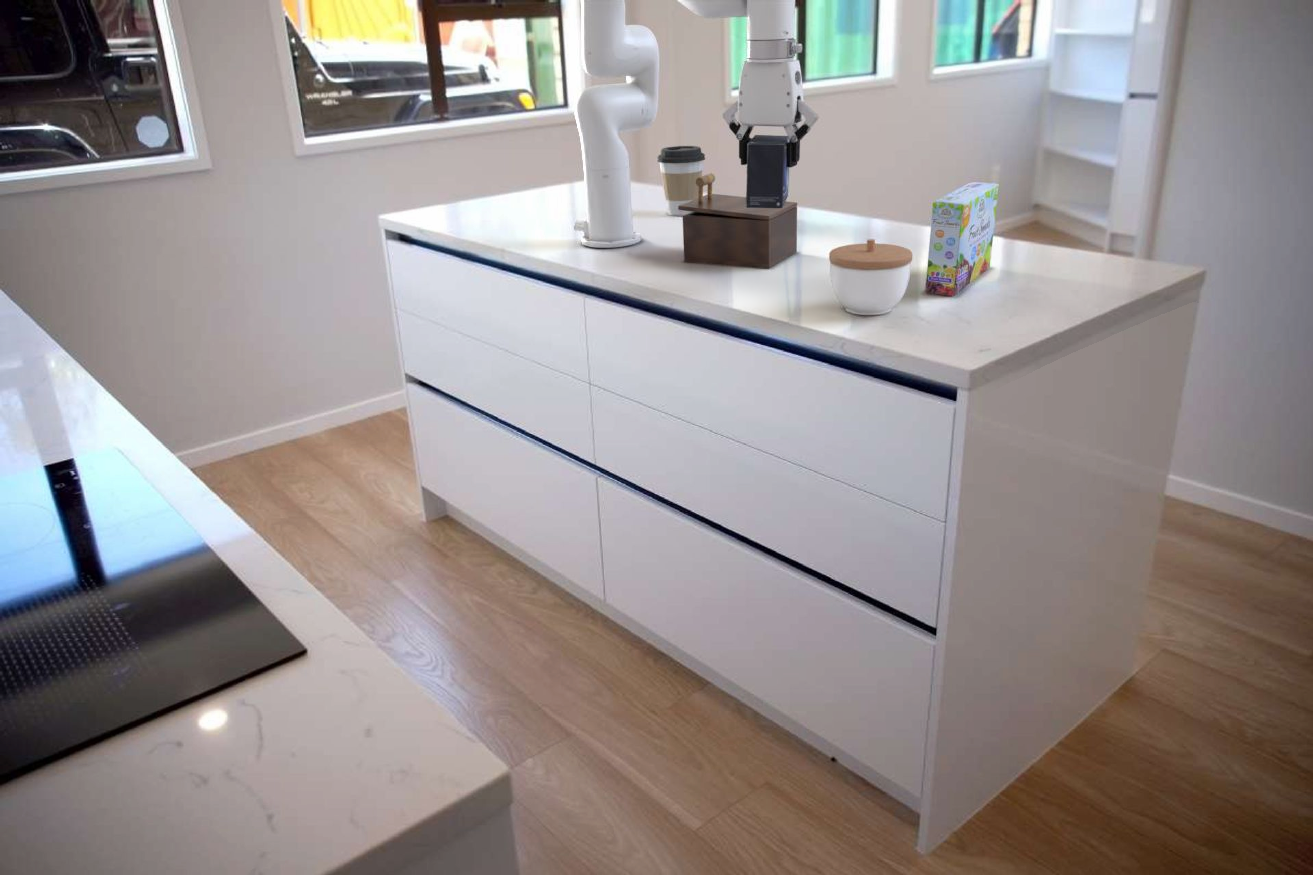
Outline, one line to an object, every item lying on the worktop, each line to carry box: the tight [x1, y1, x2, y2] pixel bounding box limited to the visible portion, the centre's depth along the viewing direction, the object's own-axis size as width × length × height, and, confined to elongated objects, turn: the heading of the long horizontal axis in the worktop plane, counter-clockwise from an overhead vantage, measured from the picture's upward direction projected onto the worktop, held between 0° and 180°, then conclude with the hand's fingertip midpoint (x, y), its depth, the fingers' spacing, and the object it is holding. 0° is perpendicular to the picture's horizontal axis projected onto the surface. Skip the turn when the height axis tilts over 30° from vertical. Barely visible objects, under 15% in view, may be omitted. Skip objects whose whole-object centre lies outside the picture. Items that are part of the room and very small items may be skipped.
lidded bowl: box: [828, 238, 913, 316], centre depth 156 cm, size 13×13×11 cm
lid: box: [678, 172, 798, 220], centre depth 189 cm, size 19×14×6 cm
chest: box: [682, 206, 798, 270], centre depth 192 cm, size 18×14×9 cm
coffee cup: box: [656, 145, 706, 217], centre depth 235 cm, size 11×11×15 cm
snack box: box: [924, 181, 1000, 297], centre depth 168 cm, size 21×6×15 cm, turn 148°
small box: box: [745, 134, 790, 208], centre depth 166 cm, size 11×6×10 cm, turn 168°
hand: (768, 164), depth 166 cm, fingers closed on small box, 7 cm apart
